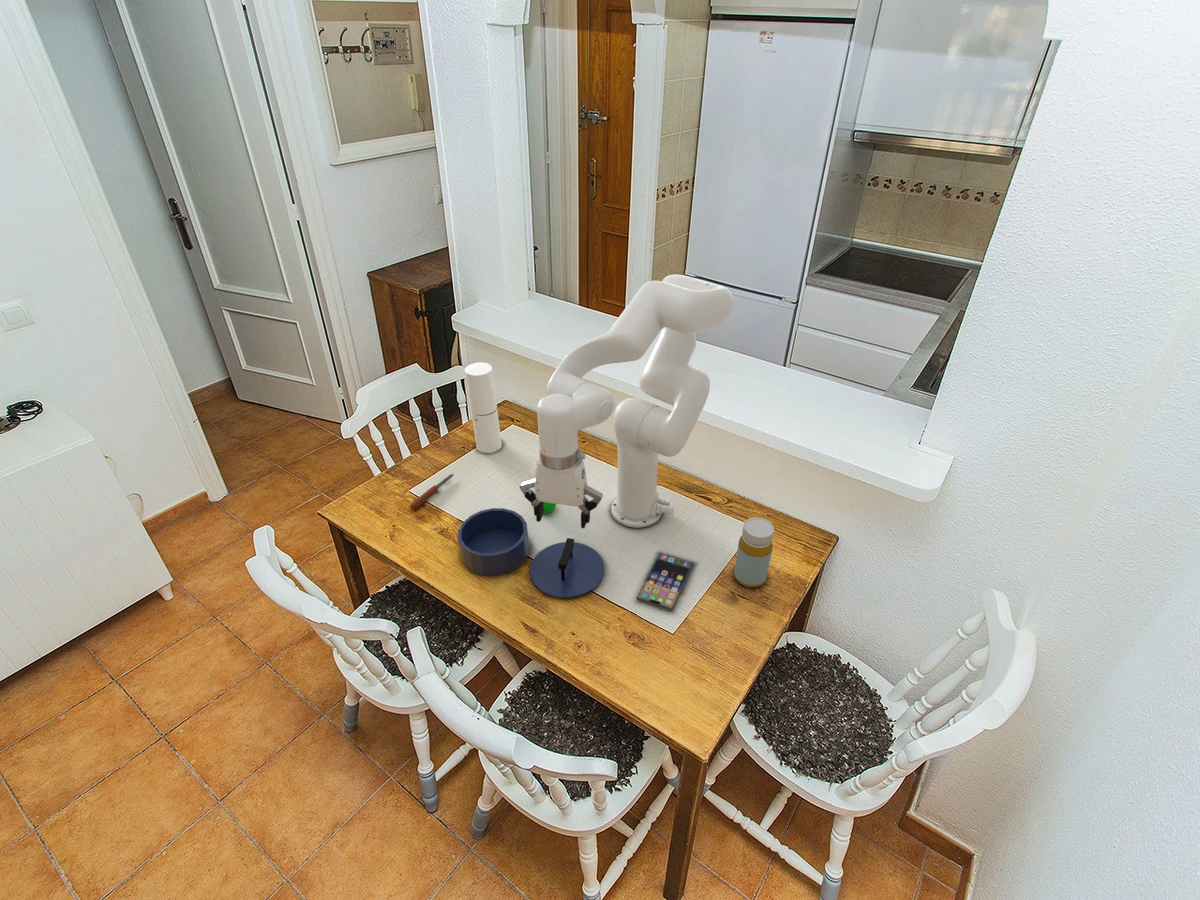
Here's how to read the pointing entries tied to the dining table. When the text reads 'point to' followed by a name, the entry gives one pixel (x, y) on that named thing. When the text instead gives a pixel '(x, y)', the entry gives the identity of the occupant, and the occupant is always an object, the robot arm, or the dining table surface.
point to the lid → (567, 569)
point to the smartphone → (665, 581)
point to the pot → (493, 541)
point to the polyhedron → (548, 507)
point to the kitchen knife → (428, 494)
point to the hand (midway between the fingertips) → (562, 520)
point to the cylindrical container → (483, 406)
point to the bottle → (754, 552)
